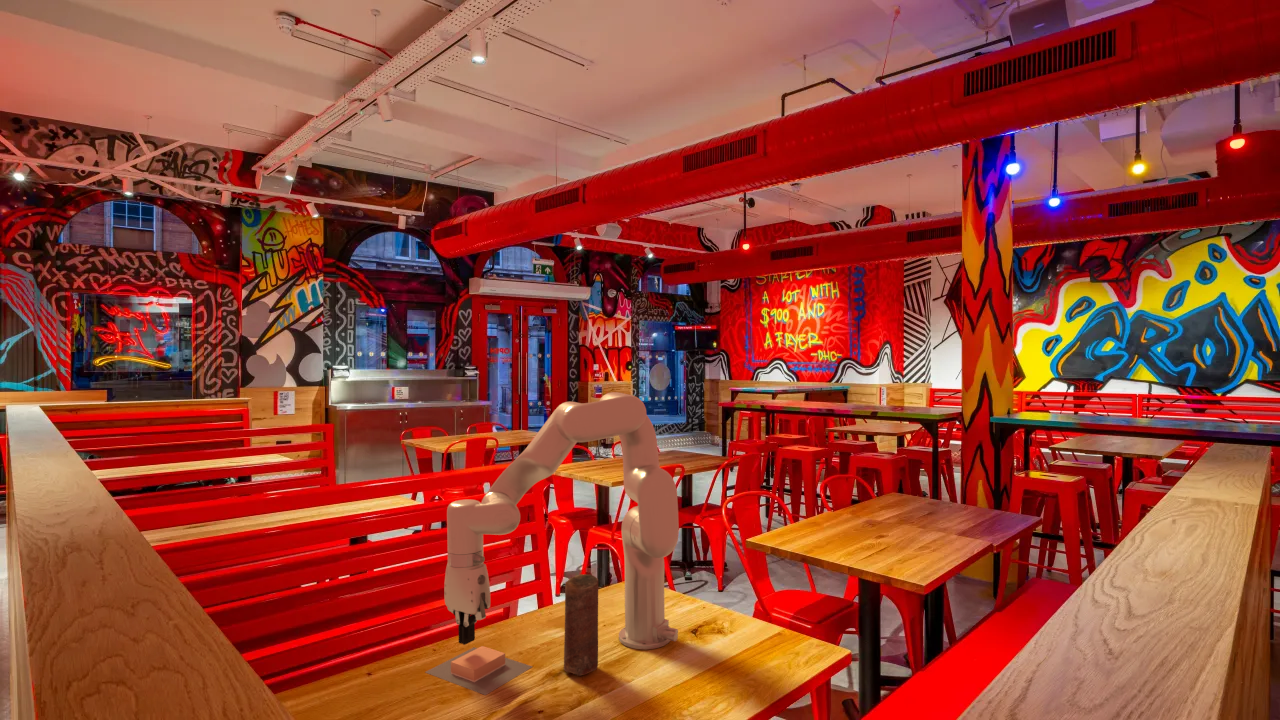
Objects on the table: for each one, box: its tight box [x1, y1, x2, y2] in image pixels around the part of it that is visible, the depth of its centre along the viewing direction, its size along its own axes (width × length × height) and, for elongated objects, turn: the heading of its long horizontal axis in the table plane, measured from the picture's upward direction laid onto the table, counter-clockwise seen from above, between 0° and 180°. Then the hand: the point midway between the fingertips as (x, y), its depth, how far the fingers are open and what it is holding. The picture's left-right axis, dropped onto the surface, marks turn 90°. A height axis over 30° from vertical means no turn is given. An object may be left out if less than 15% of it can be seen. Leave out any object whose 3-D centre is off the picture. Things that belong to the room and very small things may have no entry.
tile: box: [451, 645, 506, 682], centre depth 144 cm, size 2×9×7 cm
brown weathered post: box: [563, 573, 599, 677], centre depth 144 cm, size 8×7×20 cm
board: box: [424, 646, 533, 696], centre depth 143 cm, size 18×14×1 cm
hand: (466, 641), depth 145 cm, fingers closed
